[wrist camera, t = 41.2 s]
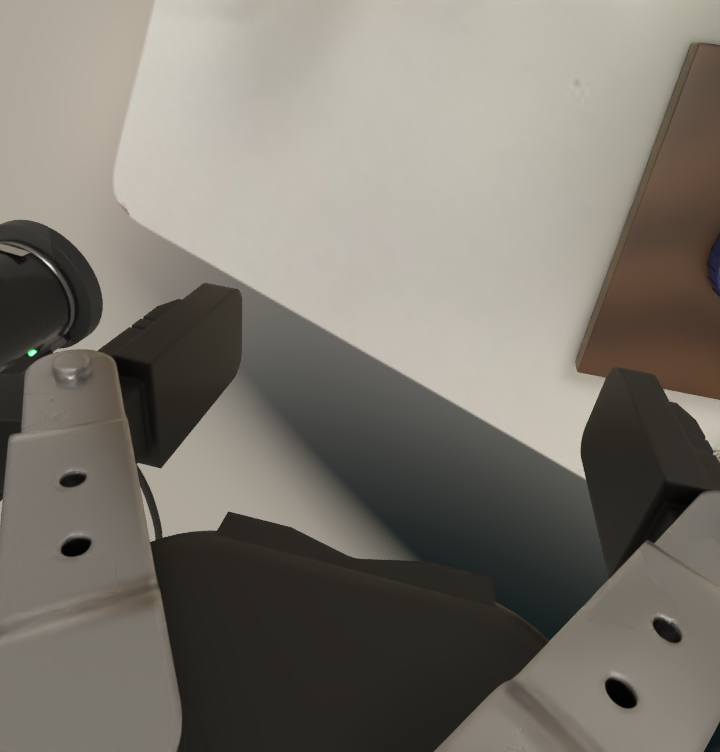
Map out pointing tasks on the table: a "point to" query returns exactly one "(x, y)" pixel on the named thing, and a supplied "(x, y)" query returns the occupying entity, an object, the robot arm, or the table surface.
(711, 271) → the jar lid
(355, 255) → the table surface
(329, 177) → the table surface
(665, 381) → the board
